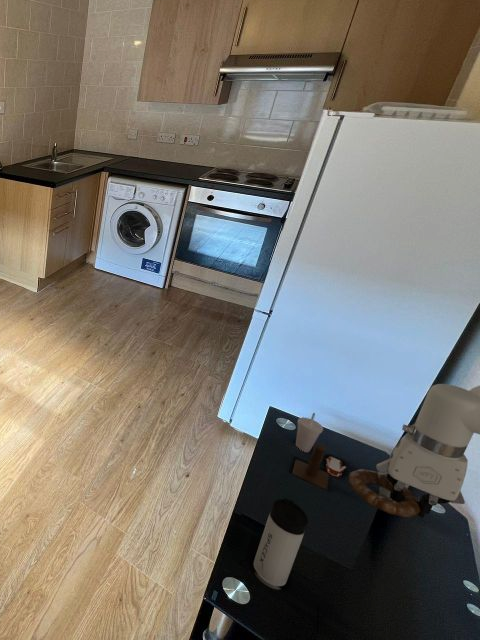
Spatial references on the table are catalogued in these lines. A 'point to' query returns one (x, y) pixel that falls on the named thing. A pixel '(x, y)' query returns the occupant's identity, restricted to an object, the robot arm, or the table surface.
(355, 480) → the ring
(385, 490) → the lightbulb
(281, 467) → the table surface
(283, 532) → the travel mug
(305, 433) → the smoothie
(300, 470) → the brown t-shaped piece
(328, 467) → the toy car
